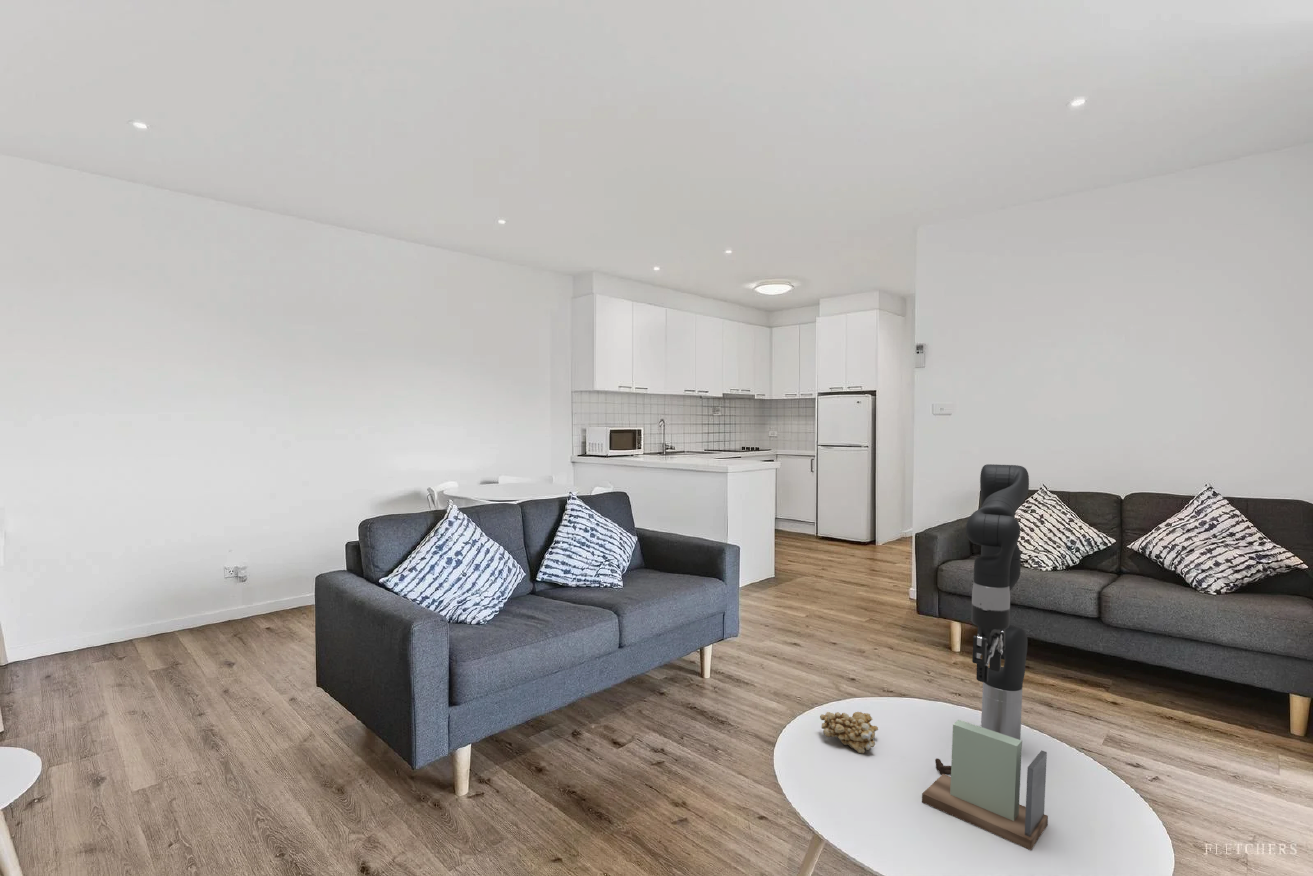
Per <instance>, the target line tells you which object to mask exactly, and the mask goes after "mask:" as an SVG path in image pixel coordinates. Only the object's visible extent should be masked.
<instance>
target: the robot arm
mask: <svg viewBox="0 0 1313 876" xmlns="http://www.w3.org/2000/svg"><path fill="white" fill-rule="evenodd" d="M979 483H980V484H979V485H980V487H979V488H980V489H979V490H980V504H981V505H980V506H981V507H980V508H978V509H977V510H975V511H974V512H973V513H972V514H971V515H970V516H969V518H967V521H966V525H965V535H966V537H967V539H968V540H969V541H970V542H971V543H972V544H975V545H976V546H977V545H978V546H980V547H981V548H980V549H981V550H980V556H977V557H975V559H974V563H973V567H974V568H973V585H972V592H971V618H970V619H971V622H972V624H973V625H975V626H977V635H973V638H972V639H973V641H972V643H973V644H972V659H971V662H972V663H973V664H976V675H975V676H976V677H975V678H976V680H977V681H978V682H981V683H982V695H981V697H982V699H981V718H980V719H981V721H980V727H983V728H986V729H989V730H992V731H995V732H998V733H1001V734H1004V735H1007V736H1010V737H1013V738H1016V739H1019V740H1021V731H1022V730H1021V729H1022V707H1023V687H1024V686H1023V684H1024V679H1025V673H1026V663H1027V653H1028V635H1027V633H1026V631H1025V629H1024V628H1022V627H1020V626H1016V625H1013V624H1010V623H1011V621H1010V616H1011V615H1010V613H1011V590H1013V588H1014V587H1015V586H1016V584H1017V583H1018V581H1019V579H1020V576H1021V570H1022V569H1021V567H1022V566H1021V565H1022V564H1021V563H1022V562H1021V556H1022V555H1021V554H1022V553H1021V550H1020V547H1019V544H1018V542H1019V539H1020V536H1021V525H1020V523H1019V521H1018V520H1017V519H1016V518H1015V516H1016V512H1017V510H1018V508H1019V507H1020V506H1021V505H1022V504H1023V502H1024V501H1025V500H1026V498H1027V497H1028V494H1029V488H1030V476H1029V472H1028V469H1027V468H1026V467H1024V466H1023V465H1018V464H1017V465H1016V464H989V463H988V464H984V465H983V466H982V467H981V470H980V476H979ZM981 656H982V657H981ZM1002 660H1004V664H1003V666H1002Z"/></svg>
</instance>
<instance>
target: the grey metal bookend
mask: <svg viewBox="0 0 1313 876" xmlns="http://www.w3.org/2000/svg"><path fill="white" fill-rule="evenodd" d="M1047 756H1048V752H1047V751H1045V750H1040V752H1039V753H1038V754H1037V755H1036V757H1034V759H1033V760H1032V761H1031V762H1030V763H1029V765H1028V766H1027V769H1026V770H1027V772H1026V774H1027V775H1026V793H1025V794H1026V795H1025V796H1026V797H1025V807H1026V815H1025V835H1026V836H1028V837H1031V835H1032V834H1033V832H1034V831H1035V829H1036V828H1037V826H1038V825H1039V823H1040V822H1041V820H1042V819H1043V817H1044V814H1045V803H1046V802H1045V801H1046V800H1045V799H1046V780H1047Z"/></svg>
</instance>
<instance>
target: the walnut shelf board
mask: <svg viewBox="0 0 1313 876" xmlns="http://www.w3.org/2000/svg"><path fill="white" fill-rule="evenodd" d="M950 786H951V775H945V774H942V775H941V774H940V776H939V777H938V778H936V780H935V781H933V783H932V784H931V785H929V787H927V788H926V789H925V790H924V791H923V792H922V793H921V803H923V804H925V805H927V806H929V807H931V808H934V809H936V810H938V811H941V812H943V813H945V814H948V815H950V816H952V817H954V818H957V819H959V820H961V821H964V822H966V823H968V824H970V825H973V826H975V827H977V828H979V829H982V830H984V831H986V832H987V833H988V832H989V833H990V834H993V835H996V836H997V837H1000V838H1002V839H1005V840H1006V841H1008V842H1011V843H1014V844H1015V845H1018V846H1020V847H1022V848H1024V849H1028V850H1029V851H1032V849H1033V848H1034V846H1035V845H1036V844H1037V842H1038V841H1039V839H1040V838H1041V836H1042V834H1043V833H1044V831H1045V830H1046V828H1047V827H1048V823H1049V815H1047V814H1045V813H1044V817H1043V819H1042V820H1041V822H1040V823H1039V825H1038V826H1037V828H1036V829H1035V831H1034V832H1033V834H1032V835H1031V837H1028V836H1026V835H1025V815H1026V805H1025V806H1024V805H1022V804H1020V803H1019V815H1018V816H1017V817H1016V819H1015V820H1014V821H1012V820H1010V819H1008V818H1005V817H1003V816H1000V815H998V814H996V813H993V812H991V811H988V810H986V809H984V808H981V807H979V806H976V805H974V804H972V803H969V802H967V801H964V800H962V799H960V798H957V797H955V796H952V795H950Z"/></svg>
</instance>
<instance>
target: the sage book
mask: <svg viewBox="0 0 1313 876" xmlns="http://www.w3.org/2000/svg"><path fill="white" fill-rule="evenodd" d="M951 738H952V741H951V763H950V766H951V774H950V777H951V786H950V795H952V796H955V797H957V798H960V799H962V800H964V801H967V802H969V803H972V804H974V805H976V806H979V807H981V808H984V809H986V810H988V811H991V812H993V813H996V814H998V815H1000V816H1003V817H1005V818H1008V819H1010V820H1012V821H1014V820H1015V819H1016V817H1017V816H1018V815H1019V804H1020V796H1021V795H1020V793H1021V792H1020V791H1021V774H1022V773H1021V772H1022V748H1023V747H1022V746H1023V740H1021V739H1020V740H1019V739H1016V738H1013V737H1010V736H1007V735H1004V734H1001V733H998V732H995V731H992V730H989V729H986V728H983V727H981V725H980V726H979V725H976V724H973V723H970V722H968V721H965V720H962V719H957V720H956V721H955V722H954V723H953V724H952V737H951Z"/></svg>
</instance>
